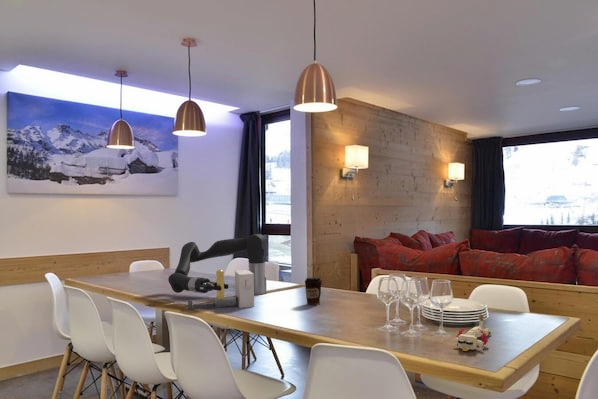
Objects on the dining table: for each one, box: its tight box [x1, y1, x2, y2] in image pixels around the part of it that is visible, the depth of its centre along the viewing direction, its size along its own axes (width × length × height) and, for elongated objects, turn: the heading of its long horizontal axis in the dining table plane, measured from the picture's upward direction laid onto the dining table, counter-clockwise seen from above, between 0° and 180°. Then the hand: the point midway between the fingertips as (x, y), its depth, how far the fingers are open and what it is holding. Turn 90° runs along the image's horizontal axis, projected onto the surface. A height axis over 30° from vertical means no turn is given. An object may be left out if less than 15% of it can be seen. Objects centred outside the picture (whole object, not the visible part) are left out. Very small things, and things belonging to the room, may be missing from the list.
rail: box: [187, 300, 239, 311], centre depth 228 cm, size 26×4×4 cm, turn 107°
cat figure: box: [452, 314, 492, 352], centre depth 159 cm, size 10×9×25 cm
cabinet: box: [234, 269, 255, 309], centre depth 231 cm, size 8×15×16 cm, turn 17°
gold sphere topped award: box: [213, 269, 237, 308], centre depth 229 cm, size 10×7×18 cm
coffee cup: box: [304, 276, 323, 306], centre depth 229 cm, size 9×8×13 cm
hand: (224, 287), depth 227 cm, fingers closed on gold sphere topped award, 4 cm apart
